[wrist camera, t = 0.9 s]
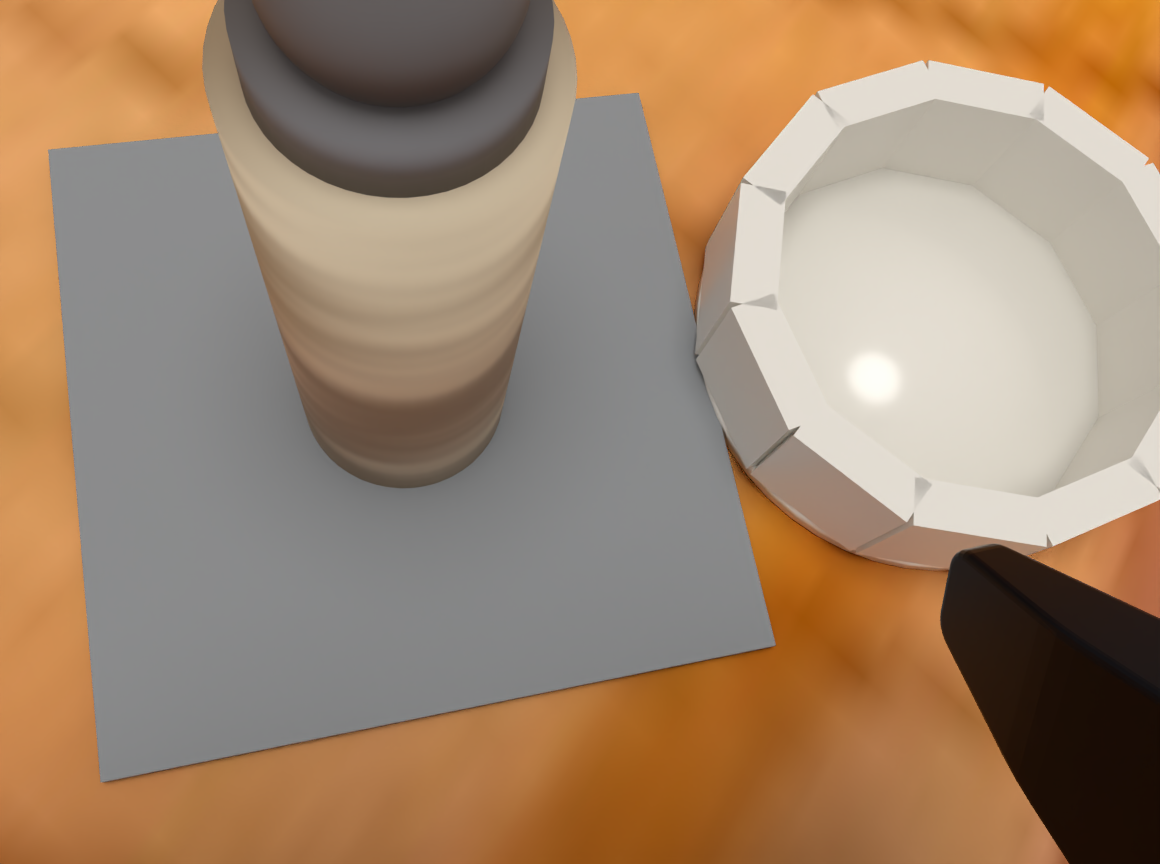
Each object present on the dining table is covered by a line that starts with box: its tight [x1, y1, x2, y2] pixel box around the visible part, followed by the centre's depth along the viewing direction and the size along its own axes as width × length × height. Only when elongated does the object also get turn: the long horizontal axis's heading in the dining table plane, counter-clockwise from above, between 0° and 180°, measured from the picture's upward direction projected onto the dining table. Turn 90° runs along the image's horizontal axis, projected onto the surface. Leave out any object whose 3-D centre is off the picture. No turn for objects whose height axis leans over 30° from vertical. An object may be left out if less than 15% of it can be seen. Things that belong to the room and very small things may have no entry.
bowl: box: [694, 60, 1160, 571], centre depth 25 cm, size 11×11×4 cm
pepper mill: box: [202, 0, 577, 488], centre depth 17 cm, size 4×4×15 cm
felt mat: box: [48, 93, 776, 782], centre depth 25 cm, size 14×14×1 cm
